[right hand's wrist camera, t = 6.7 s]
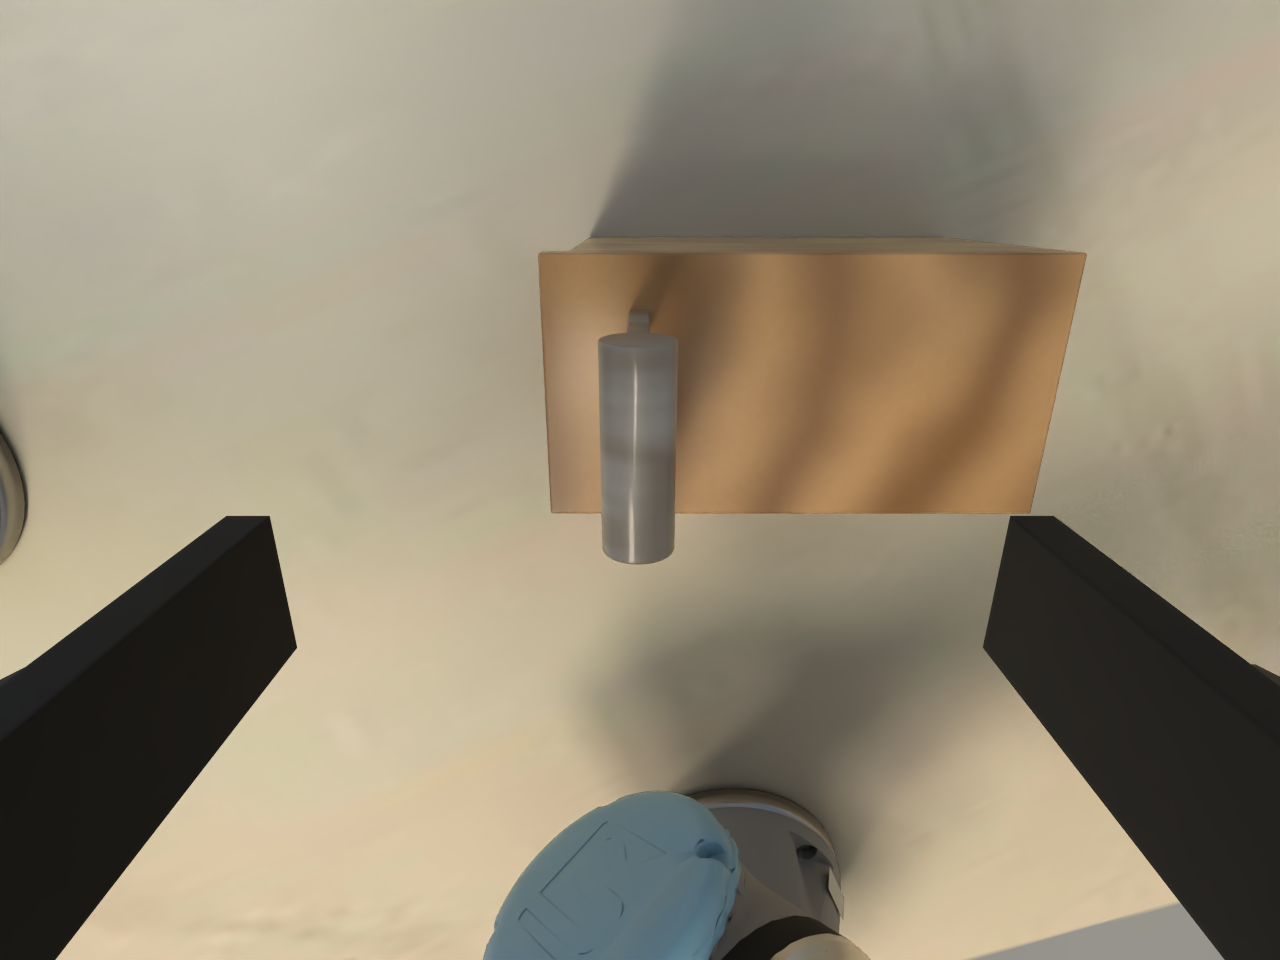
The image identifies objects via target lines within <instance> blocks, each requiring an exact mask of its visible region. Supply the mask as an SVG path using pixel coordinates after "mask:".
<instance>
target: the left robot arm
mask: <svg viewBox="0 0 1280 960" xmlns="http://www.w3.org/2000/svg"><path fill="white" fill-rule="evenodd" d="M843 914H844V897H843V895H842V893H841V880H840V871H839V866H838V863H837V860H836V856H835V853H834V850H833V847H832V844H831V841H830V839H829V837H828V835H827V833H826V832H825V830H824V829H823V827H822V826H821V825H820V823H819V822H818V821H817V820H816V819H815V818H814V817H813V816H812V815H811V814H809V813H808V812H807V811H805V810H804V809H803V808H801V807H799V806H798V805H796V804H795V803H793V802H790V801H788V800H786V799H784V798H781V797H779V796H776V795H773V794H769V793H765V792H760V791H755V790H747V789H719V790H710V791H705V792H700V793H696V794H693V795H689V796H685V795H682V794H678V793H674V792H667V791H648V792H641V793H636V794H631V795H627V796H624V797H622V798H619V799H618V800H616V801H615V802H613V803H611V804H609V805H607V806H603V807H598V808H596V809H594V810H592V811H590V812H589V813H587V814H585V815H584V816H582V817H581V818H579V819H578V820H577V821H575V822H574V823H572V824H571V825H570V826H568V827H567V828H566V829H564V830H563V831H562V832H561V833H560V834H558V835H557V836H556V837H555V838H554V839H553V840H552V841H551V842H550V843H549V844H548V845H547V846H546V847H545V848H544V849H543V850H542V851H541V852H540V853H539V854H538V855H537V856H536V857H535V858H534V859H533V861H532V862H531V863H530V864H529V865H528V867H527V868H526V869H525V870H524V872H523V873H522V874H521V876H520V877H519V879H518V880H517V881H516V883H515V885H514V886H513V888H512V889H511V891H510V893H509V894H508V896H507V897H506V899H505V901H504V903H503V905H502V907H501V909H500V911H499V913H498V915H497V917H496V920H495V926H494V930H495V931H494V933H493V935H492V936H491V938H490V940H489V943H488V944H487V946H486V950H485V953H484V957H483V960H870V959H869V957H868V956H867V955H866V954H865V953H864V952H863V951H862V950H861V949H860V948H858V947H857V946H856V945H855V944H854V943H852V942H851V941H850V940H848V939H847V938H845V937H843V936H842V935H840V934H839V922H840V915H841V917H842V919H843Z"/></svg>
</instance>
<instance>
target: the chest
mask: <svg viewBox="0 0 1280 960" xmlns="http://www.w3.org/2000/svg"><path fill="white" fill-rule="evenodd" d="M570 251H1063V250H1054V249H1045V248H1035V247H1026V246H1017V245H1008V244H998V243H989V242H980V241H971V240H961V239H952V238H944V237H590V238H588V239H587V240H586V241H584V242H582V243H581V244H579V245H578V246H576V247H575V248H573V249H572V250H570Z"/></svg>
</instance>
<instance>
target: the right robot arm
mask: <svg viewBox="0 0 1280 960" xmlns="http://www.w3.org/2000/svg"><path fill="white" fill-rule="evenodd" d="M24 507H25V503H24V492H23V487H22V481H21V478H20V474H19V471H18V468H17V465H16V463H15V460H14V458H13V455H12V453H11V451H10V449H9V447H8V445H7V443H6V442H5V440H4V438H3V437H2V435H1V433H0V565H1V564H2V563H3V562H4V561H5V560H6V558H7V557H8V556H9V555H10V553H11V552H12V550H13V549H14V547H15V545H16V543H17V541H18V539H19V536H20V533H21V530H22V526H23V520H24ZM296 648H297V645H296V640H295V635H294V630H293V626H292V621H291V616H290V611H289V607H288V602H287V597H286V592H285V587H284V583H283V578H282V573H281V568H280V563H279V559H278V554H277V549H276V544H275V540H274V535H273V530H272V525H271V520H270V516H226V517H224V518H223V519H222V520H220V521H219V522H218V523H216V524H215V525H214V526H212V527H211V528H210V529H209V530H207V531H206V532H205V533H203V534H202V535H201V536H199V537H198V538H197V539H195V540H194V541H193V542H191V543H190V544H189V545H187V546H186V547H185V548H183V549H182V550H181V551H179V552H178V553H177V554H175V555H174V556H173V557H171V558H170V559H169V560H167V561H166V562H165V563H163V564H162V565H161V566H159V567H158V568H157V569H155V570H154V571H153V572H151V573H150V574H149V575H147V576H146V577H145V578H143V579H142V580H141V581H139V582H138V583H137V584H135V585H134V586H133V587H131V588H130V589H129V590H127V591H126V592H125V593H123V594H122V595H121V596H119V597H118V598H117V599H115V600H114V601H113V602H111V603H110V604H109V605H107V606H106V607H105V608H103V609H102V610H101V611H100V612H98V613H97V614H96V615H94V616H93V617H92V618H90V619H89V620H88V621H86V622H85V623H84V624H82V625H81V626H80V627H78V628H77V629H76V630H74V631H73V632H72V633H70V634H69V635H68V636H66V637H65V638H64V639H62V640H61V641H60V642H58V643H57V644H56V645H54V646H53V647H52V648H50V649H49V650H48V651H46V652H45V653H44V654H42V655H41V656H40V657H38V658H37V659H36V660H34V661H33V662H32V663H30V664H29V665H28V666H26V667H25V668H23V669H21V670H19V671H17V672H15V673H13V674H11V675H9V676H7V677H5V678H3V679H1V680H0V960H55V959H56V958H57V957H58V956H59V954H60V953H61V952H62V950H63V949H64V948H65V947H66V945H67V944H68V943H69V941H70V940H71V939H72V938H73V936H74V935H75V934H76V932H77V931H78V930H79V929H80V927H81V926H82V925H83V923H84V922H85V921H86V919H87V918H88V917H89V916H90V914H91V913H92V912H93V910H94V909H95V908H96V907H97V905H98V904H99V903H100V901H101V900H102V899H103V898H104V896H105V895H106V894H107V892H108V891H109V890H110V888H111V887H112V886H113V885H114V883H115V882H116V881H117V879H118V878H119V877H120V876H121V874H122V873H123V872H124V870H125V869H126V868H127V867H128V865H129V864H130V863H131V861H132V860H133V859H134V857H135V856H136V855H137V854H138V852H139V851H140V850H141V848H142V847H143V846H144V845H145V843H146V842H147V841H148V839H149V838H150V837H151V836H152V834H153V833H154V832H155V830H156V829H157V828H158V827H159V825H160V824H161V823H162V821H163V820H164V819H165V817H166V816H167V815H168V814H169V812H170V811H171V810H172V808H173V807H174V806H175V805H176V803H177V802H178V801H179V799H180V798H181V797H182V796H183V794H184V793H185V792H186V790H187V789H188V788H189V786H190V785H191V784H192V783H193V781H194V780H195V779H196V777H197V776H198V775H199V774H200V772H201V771H202V770H203V768H204V767H205V766H206V765H207V763H208V762H209V761H210V759H211V758H212V757H213V756H214V754H215V753H216V752H217V750H218V749H219V748H220V746H221V745H222V744H223V743H224V741H225V740H226V739H227V737H228V736H229V735H230V734H231V732H232V731H233V730H234V728H235V727H236V726H237V725H238V723H239V722H240V721H241V719H242V718H243V717H244V715H245V714H246V713H247V712H248V710H249V709H250V708H251V706H252V705H253V704H254V703H255V701H256V700H257V699H258V697H259V696H260V695H261V694H262V692H263V691H264V690H265V688H266V687H267V686H268V685H269V683H270V682H271V681H272V679H273V678H274V677H275V675H276V674H277V673H278V672H279V670H280V669H281V668H282V666H283V665H284V664H285V663H286V661H287V660H288V659H289V657H290V656H291V655H292V654H293V652H294V651H295V650H296ZM983 648H984V650H985V651H986V652H987V654H988V655H989V656H990V657H991V659H992V660H993V661H994V663H995V664H996V665H997V666H998V668H999V669H1000V670H1001V672H1002V673H1003V674H1004V675H1005V677H1006V678H1007V679H1008V681H1009V682H1010V683H1011V685H1012V686H1013V687H1014V688H1015V690H1016V691H1017V692H1018V694H1019V695H1020V696H1021V697H1022V699H1023V700H1024V701H1025V703H1026V704H1027V705H1028V706H1029V708H1030V709H1031V710H1032V712H1033V713H1034V714H1035V715H1036V717H1037V718H1038V719H1039V721H1040V722H1041V723H1042V725H1043V726H1044V727H1045V728H1046V730H1047V731H1048V732H1049V734H1050V735H1051V736H1052V737H1053V739H1054V740H1055V741H1056V743H1057V744H1058V745H1059V746H1060V748H1061V749H1062V750H1063V752H1064V753H1065V754H1066V756H1067V757H1068V758H1069V759H1070V761H1071V762H1072V763H1073V765H1074V766H1075V767H1076V768H1077V770H1078V771H1079V772H1080V774H1081V775H1082V776H1083V777H1084V779H1085V780H1086V781H1087V783H1088V784H1089V785H1090V786H1091V788H1092V789H1093V790H1094V792H1095V793H1096V794H1097V796H1098V797H1099V798H1100V799H1101V801H1102V802H1103V803H1104V805H1105V806H1106V807H1107V808H1108V810H1109V811H1110V812H1111V814H1112V815H1113V816H1114V817H1115V819H1116V820H1117V821H1118V823H1119V824H1120V825H1121V827H1122V828H1123V829H1124V830H1125V832H1126V833H1127V834H1128V836H1129V837H1130V838H1131V839H1132V841H1133V842H1134V843H1135V845H1136V846H1137V847H1138V848H1139V850H1140V851H1141V852H1142V854H1143V855H1144V856H1145V857H1146V859H1147V860H1148V861H1149V863H1150V864H1151V865H1152V867H1153V868H1154V869H1155V870H1156V872H1157V873H1158V874H1159V876H1160V877H1161V878H1162V879H1163V881H1164V882H1165V883H1166V885H1167V886H1168V887H1169V888H1170V890H1171V891H1172V892H1173V894H1174V895H1175V896H1176V898H1177V899H1178V900H1179V901H1180V903H1181V904H1182V905H1183V907H1184V908H1185V909H1186V910H1187V912H1188V913H1189V914H1190V916H1191V917H1192V918H1193V919H1194V921H1195V922H1196V923H1197V925H1198V926H1199V927H1200V929H1201V930H1202V931H1203V932H1204V934H1205V935H1206V936H1207V938H1208V939H1209V940H1210V941H1211V943H1212V944H1213V945H1214V947H1215V948H1216V949H1217V950H1218V952H1219V953H1220V954H1221V956H1222V957H1223V958H1224V959H1225V960H1280V677H1279V676H1277V675H1275V674H1273V673H1271V672H1269V671H1267V670H1265V669H1263V668H1261V667H1259V666H1257V665H1255V664H1250V663H1248V662H1247V661H1246V660H1244V659H1243V658H1242V657H1240V656H1239V655H1238V654H1236V653H1235V652H1234V651H1232V650H1231V649H1230V648H1228V647H1227V646H1226V645H1224V644H1223V643H1222V642H1220V641H1219V640H1218V639H1216V638H1215V637H1214V636H1212V635H1211V634H1210V633H1208V632H1207V631H1206V630H1204V629H1203V628H1202V627H1200V626H1199V625H1198V624H1196V623H1195V622H1194V621H1192V620H1191V619H1190V618H1188V617H1187V616H1186V615H1184V614H1183V613H1182V612H1180V611H1179V610H1178V609H1177V608H1175V607H1174V606H1173V605H1171V604H1170V603H1169V602H1167V601H1166V600H1165V599H1163V598H1162V597H1161V596H1159V595H1158V594H1157V593H1155V592H1154V591H1153V590H1151V589H1150V588H1149V587H1147V586H1146V585H1145V584H1143V583H1142V582H1141V581H1139V580H1138V579H1137V578H1135V577H1134V576H1133V575H1131V574H1130V573H1129V572H1127V571H1126V570H1125V569H1123V568H1122V567H1121V566H1119V565H1118V564H1117V563H1115V562H1114V561H1113V560H1111V559H1110V558H1109V557H1107V556H1106V555H1105V554H1103V553H1102V552H1101V551H1099V550H1098V549H1097V548H1095V547H1094V546H1093V545H1091V544H1090V543H1089V542H1087V541H1086V540H1085V539H1083V538H1082V537H1081V536H1079V535H1078V534H1077V533H1075V532H1074V531H1073V530H1071V529H1070V528H1069V527H1068V526H1066V525H1065V524H1064V523H1062V522H1061V521H1060V520H1058V519H1057V518H1056V517H1054V516H1010V520H1009V525H1008V530H1007V535H1006V540H1005V544H1004V549H1003V554H1002V559H1001V563H1000V568H999V573H998V578H997V583H996V587H995V592H994V597H993V602H992V607H991V611H990V616H989V621H988V626H987V630H986V635H985V640H984V645H983Z"/></svg>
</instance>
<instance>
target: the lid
mask: <svg viewBox="0 0 1280 960" xmlns="http://www.w3.org/2000/svg"><path fill="white" fill-rule="evenodd" d="M1085 260H1086V253H1082V252H1072V251H543V252H541V253H539V254H538V262H539V282H540V302H541V322H542V342H543V362H544V382H545V402H546V422H547V442H548V462H549V482H550V502H551V512H552V513H602V548H603V551H604V553H605V554H606V555H607V556H608V557H609V558H611V559H613V560H615V561H618V562H622V563H627V564H649V563H655V562H658V561H661V560H664V559H665V558H667V557H669V556H670V555H671V554H672V552H673V550H674V535H675V513H1030V511H1031V506H1032V501H1033V497H1034V492H1035V488H1036V483H1037V479H1038V474H1039V470H1040V465H1041V460H1042V456H1043V451H1044V447H1045V442H1046V438H1047V433H1048V429H1049V424H1050V420H1051V415H1052V410H1053V406H1054V401H1055V397H1056V392H1057V388H1058V383H1059V379H1060V374H1061V369H1062V365H1063V360H1064V356H1065V351H1066V347H1067V342H1068V338H1069V333H1070V328H1071V324H1072V319H1073V315H1074V310H1075V306H1076V301H1077V297H1078V292H1079V287H1080V283H1081V278H1082V274H1083V269H1084V265H1085Z"/></svg>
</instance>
